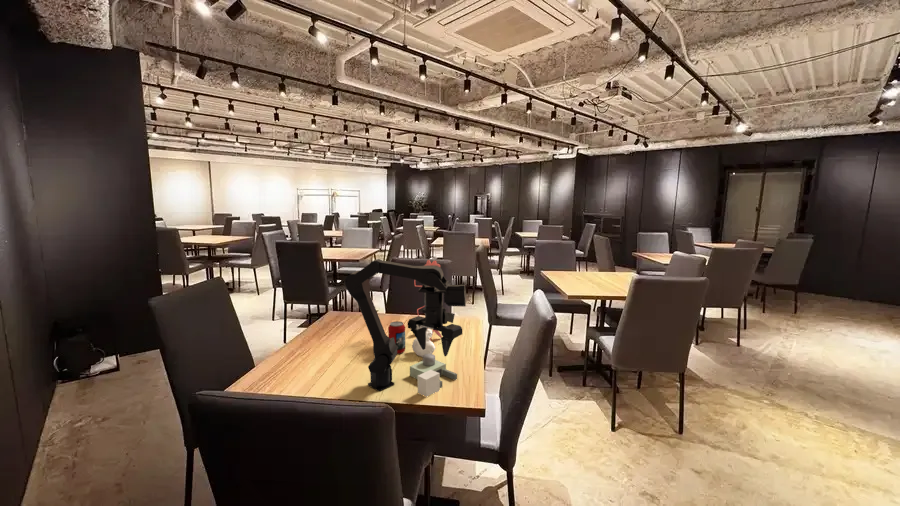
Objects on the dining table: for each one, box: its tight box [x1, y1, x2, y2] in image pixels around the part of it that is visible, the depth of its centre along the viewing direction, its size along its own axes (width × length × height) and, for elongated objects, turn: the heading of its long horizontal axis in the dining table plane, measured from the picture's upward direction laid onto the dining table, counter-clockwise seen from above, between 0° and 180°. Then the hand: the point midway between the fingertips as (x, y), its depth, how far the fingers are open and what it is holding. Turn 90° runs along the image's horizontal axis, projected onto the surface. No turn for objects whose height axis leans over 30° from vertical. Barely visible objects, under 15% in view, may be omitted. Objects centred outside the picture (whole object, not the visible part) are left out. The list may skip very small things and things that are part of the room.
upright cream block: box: [417, 370, 441, 398], centre depth 121 cm, size 4×6×6 cm, turn 138°
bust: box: [411, 329, 436, 358], centre depth 151 cm, size 12×8×11 cm
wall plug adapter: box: [409, 353, 458, 389], centre depth 131 cm, size 10×14×6 cm
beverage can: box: [387, 320, 406, 355], centre depth 153 cm, size 7×7×12 cm
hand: (434, 352), depth 122 cm, fingers open, 9 cm apart
